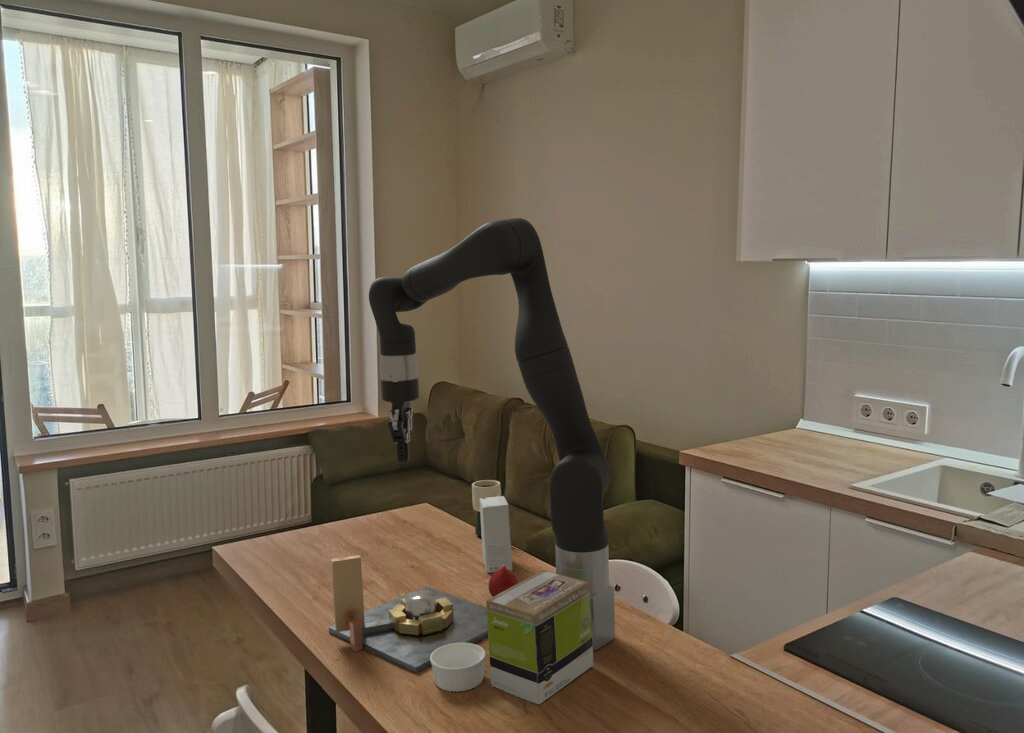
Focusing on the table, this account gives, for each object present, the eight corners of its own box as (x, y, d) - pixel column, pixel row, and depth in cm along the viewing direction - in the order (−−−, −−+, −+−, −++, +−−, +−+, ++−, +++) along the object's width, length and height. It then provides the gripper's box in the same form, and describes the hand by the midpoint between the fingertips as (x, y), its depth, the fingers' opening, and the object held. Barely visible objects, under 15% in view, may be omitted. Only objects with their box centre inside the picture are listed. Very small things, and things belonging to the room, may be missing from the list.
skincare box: (512, 571, 174) (510, 505, 172) (485, 574, 173) (482, 507, 172) (507, 558, 182) (505, 494, 181) (481, 560, 182) (478, 496, 180)
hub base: (513, 622, 149) (512, 591, 148) (408, 677, 130) (406, 642, 130) (426, 590, 165) (425, 562, 164) (321, 635, 146) (319, 604, 146)
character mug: (513, 536, 197) (511, 484, 195) (490, 543, 192) (488, 490, 191) (485, 526, 205) (484, 476, 204) (463, 533, 201) (461, 482, 199)
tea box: (545, 650, 138) (543, 567, 136) (594, 667, 132) (593, 580, 130) (488, 687, 127) (484, 597, 125) (539, 707, 120) (536, 613, 118)
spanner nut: (453, 605, 155) (450, 534, 153) (454, 632, 143) (450, 556, 141) (342, 612, 153) (337, 541, 151) (333, 641, 141) (329, 564, 139)
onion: (483, 607, 156) (482, 567, 155) (498, 596, 161) (496, 557, 160) (510, 612, 154) (508, 572, 153) (523, 600, 159) (522, 561, 158)
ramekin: (436, 699, 124) (435, 672, 123) (426, 671, 132) (425, 646, 132) (492, 689, 126) (491, 663, 126) (479, 663, 135) (478, 638, 134)
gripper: (389, 372, 169) (393, 453, 171) (372, 381, 156) (377, 469, 158) (424, 371, 168) (428, 453, 170) (410, 380, 155) (415, 468, 157)
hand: (403, 460), depth 164 cm, fingers closed
